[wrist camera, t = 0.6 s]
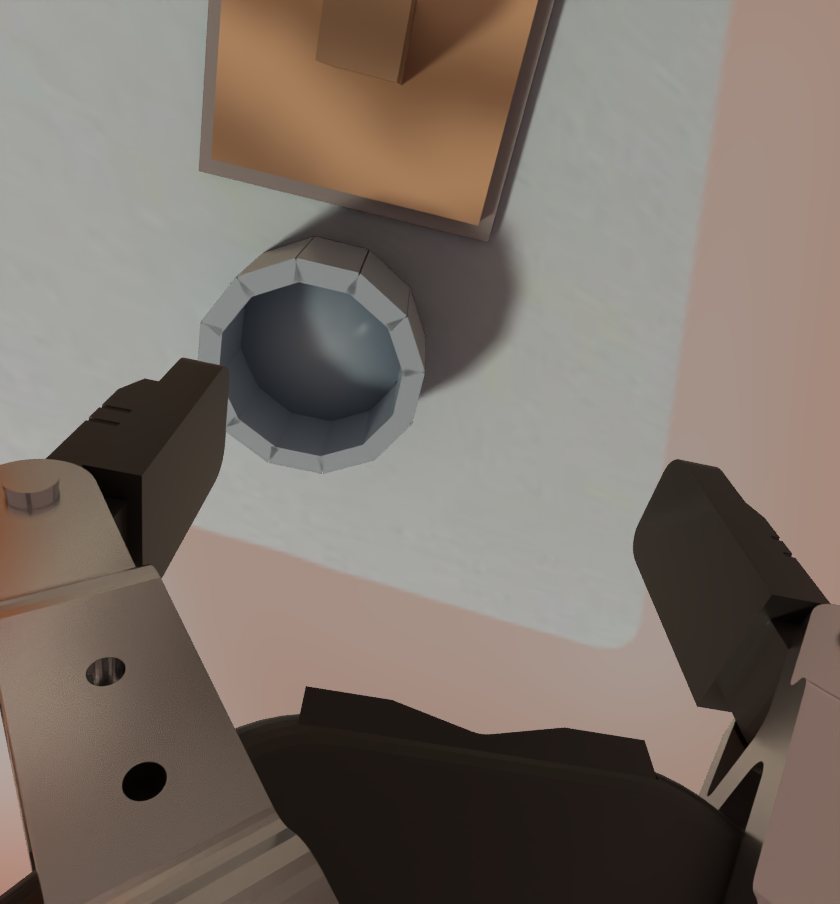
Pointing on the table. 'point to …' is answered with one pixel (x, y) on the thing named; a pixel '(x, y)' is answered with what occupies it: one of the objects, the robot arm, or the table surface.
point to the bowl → (317, 355)
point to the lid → (371, 95)
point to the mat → (364, 203)
